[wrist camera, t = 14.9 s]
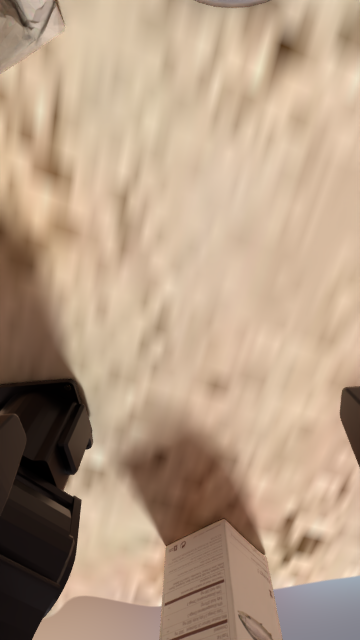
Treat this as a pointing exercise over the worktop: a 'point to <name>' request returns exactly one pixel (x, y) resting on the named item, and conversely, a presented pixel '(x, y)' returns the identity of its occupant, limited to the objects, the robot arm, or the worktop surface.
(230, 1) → the charcoal pad
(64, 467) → the robot arm
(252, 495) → the worktop surface
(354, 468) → the worktop surface
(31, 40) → the packaged product
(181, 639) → the supplement box
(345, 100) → the worktop surface
